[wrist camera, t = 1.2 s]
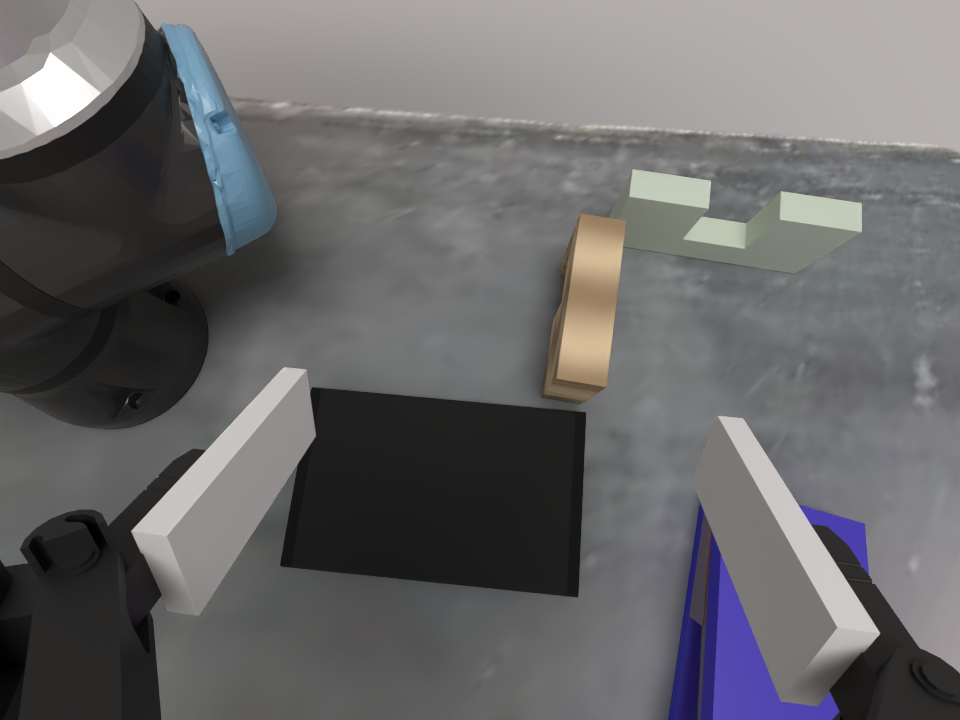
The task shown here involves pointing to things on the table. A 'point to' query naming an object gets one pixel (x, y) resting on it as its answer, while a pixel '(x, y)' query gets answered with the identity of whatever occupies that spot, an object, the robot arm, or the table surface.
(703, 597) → the blue foot pedal
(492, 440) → the external hard drive
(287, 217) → the table surface
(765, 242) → the green u-shaped block
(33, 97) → the robot arm
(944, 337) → the table surface
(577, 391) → the tan wooden block
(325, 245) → the table surface
